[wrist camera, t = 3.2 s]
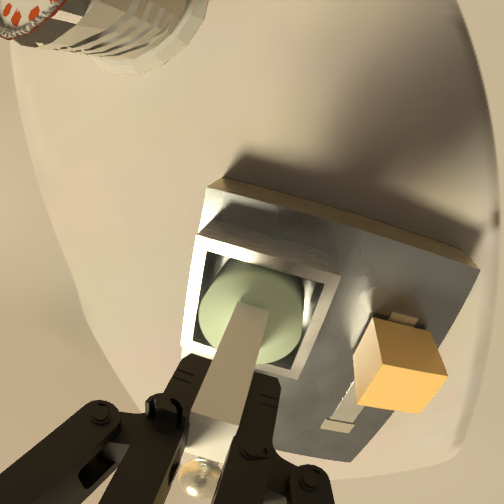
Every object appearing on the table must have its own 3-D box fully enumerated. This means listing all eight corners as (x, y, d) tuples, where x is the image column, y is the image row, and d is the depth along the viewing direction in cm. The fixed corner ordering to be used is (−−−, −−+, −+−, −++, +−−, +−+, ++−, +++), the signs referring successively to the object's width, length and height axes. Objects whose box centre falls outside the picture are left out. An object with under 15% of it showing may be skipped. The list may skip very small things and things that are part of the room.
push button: (223, 240, 17) (206, 264, 14) (316, 266, 17) (316, 295, 14) (209, 316, 19) (193, 347, 16) (290, 339, 19) (285, 374, 16)
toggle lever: (213, 396, 22) (177, 468, 13) (244, 406, 22) (225, 483, 12) (205, 422, 22) (170, 498, 13) (236, 431, 22) (214, 512, 12)
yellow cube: (372, 316, 17) (382, 364, 14) (429, 331, 17) (448, 376, 13) (352, 355, 18) (356, 404, 15) (407, 367, 18) (419, 413, 14)
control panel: (222, 177, 19) (189, 198, 14) (461, 250, 18) (498, 291, 13) (185, 396, 27) (164, 441, 22) (349, 437, 26) (350, 485, 21)
